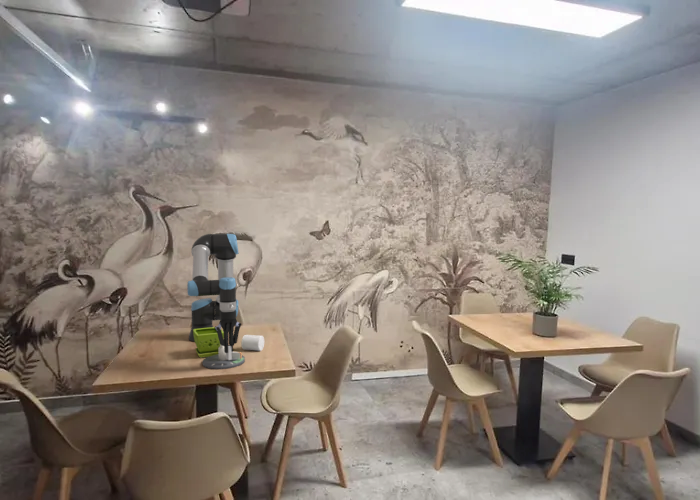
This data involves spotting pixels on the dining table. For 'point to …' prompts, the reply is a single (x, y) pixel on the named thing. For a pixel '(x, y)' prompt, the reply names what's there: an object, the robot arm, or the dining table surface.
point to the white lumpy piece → (223, 355)
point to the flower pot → (206, 341)
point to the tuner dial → (222, 362)
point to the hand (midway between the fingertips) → (228, 359)
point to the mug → (252, 342)
